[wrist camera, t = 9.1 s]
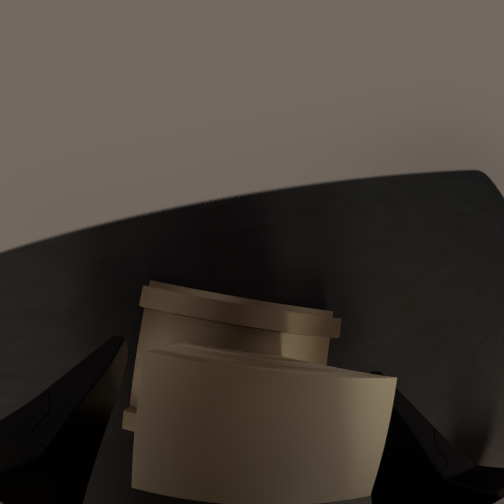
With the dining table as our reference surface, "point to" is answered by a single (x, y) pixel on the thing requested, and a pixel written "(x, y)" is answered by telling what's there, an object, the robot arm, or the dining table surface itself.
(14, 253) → the dining table surface
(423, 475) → the robot arm
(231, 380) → the wooden block
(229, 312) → the wooden tray
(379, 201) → the dining table surface
